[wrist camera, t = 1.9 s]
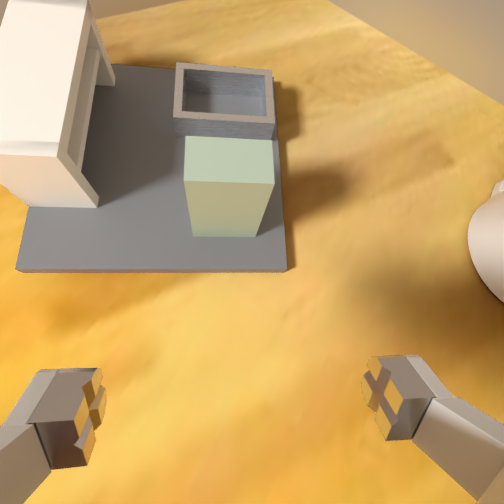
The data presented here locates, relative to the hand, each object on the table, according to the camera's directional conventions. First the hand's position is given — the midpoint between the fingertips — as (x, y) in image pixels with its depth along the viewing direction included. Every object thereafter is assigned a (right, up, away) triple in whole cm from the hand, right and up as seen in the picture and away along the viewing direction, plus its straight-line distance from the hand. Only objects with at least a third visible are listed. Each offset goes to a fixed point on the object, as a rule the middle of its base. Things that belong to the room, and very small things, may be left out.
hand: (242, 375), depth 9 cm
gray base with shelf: (-9, +13, +23) cm, 28 cm away
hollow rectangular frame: (-3, +19, +25) cm, 32 cm away
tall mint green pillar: (-2, +7, +21) cm, 22 cm away
